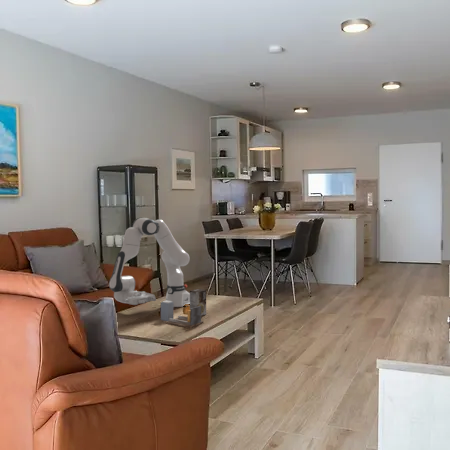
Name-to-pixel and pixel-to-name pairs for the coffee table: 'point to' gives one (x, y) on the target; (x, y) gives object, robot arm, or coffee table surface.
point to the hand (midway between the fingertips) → (150, 300)
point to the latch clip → (189, 315)
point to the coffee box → (198, 299)
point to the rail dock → (184, 320)
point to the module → (166, 310)
